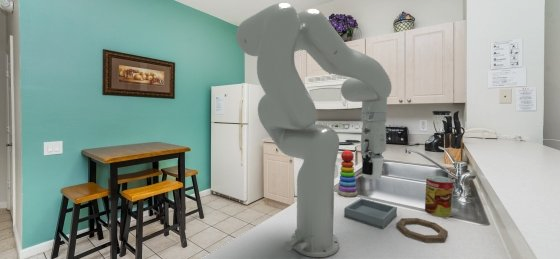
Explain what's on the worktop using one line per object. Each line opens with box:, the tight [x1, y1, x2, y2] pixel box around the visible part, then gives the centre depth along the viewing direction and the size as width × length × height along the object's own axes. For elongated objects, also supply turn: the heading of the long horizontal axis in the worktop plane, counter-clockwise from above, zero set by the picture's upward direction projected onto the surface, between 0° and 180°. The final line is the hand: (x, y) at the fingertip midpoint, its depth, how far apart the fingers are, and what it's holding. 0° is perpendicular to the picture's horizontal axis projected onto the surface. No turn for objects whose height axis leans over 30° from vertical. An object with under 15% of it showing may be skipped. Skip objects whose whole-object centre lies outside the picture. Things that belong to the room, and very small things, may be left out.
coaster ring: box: [395, 217, 449, 244], centre depth 72 cm, size 12×12×1 cm
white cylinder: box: [362, 155, 384, 180], centre depth 81 cm, size 7×7×7 cm
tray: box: [343, 197, 398, 230], centre depth 82 cm, size 13×13×3 cm
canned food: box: [424, 175, 455, 218], centre depth 85 cm, size 8×8×12 cm
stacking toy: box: [337, 149, 358, 198], centre depth 103 cm, size 8×8×19 cm
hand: (371, 171), depth 81 cm, fingers closed on white cylinder, 6 cm apart
